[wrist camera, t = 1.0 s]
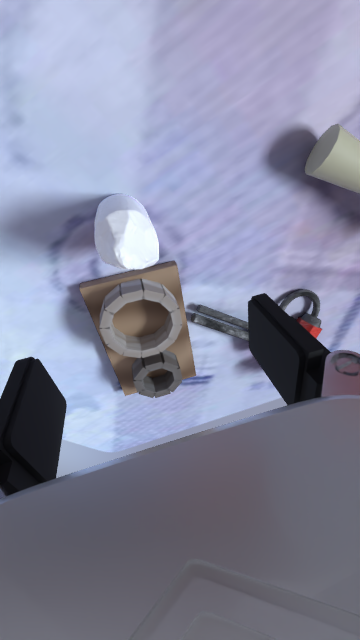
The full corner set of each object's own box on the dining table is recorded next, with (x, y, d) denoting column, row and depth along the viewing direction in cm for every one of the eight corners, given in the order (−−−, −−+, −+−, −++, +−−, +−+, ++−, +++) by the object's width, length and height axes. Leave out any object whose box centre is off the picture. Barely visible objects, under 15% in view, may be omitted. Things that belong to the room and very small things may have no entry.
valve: (336, 304, 48) (292, 371, 52) (218, 245, 38) (174, 335, 42) (367, 318, 42) (314, 393, 46) (238, 254, 32) (185, 356, 36)
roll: (183, 249, 21) (145, 304, 23) (158, 214, 30) (133, 255, 32) (112, 204, 18) (76, 271, 20) (110, 181, 28) (85, 228, 29)
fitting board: (80, 283, 33) (77, 301, 29) (174, 260, 34) (182, 275, 30) (124, 388, 44) (126, 411, 41) (193, 369, 46) (201, 389, 42)
